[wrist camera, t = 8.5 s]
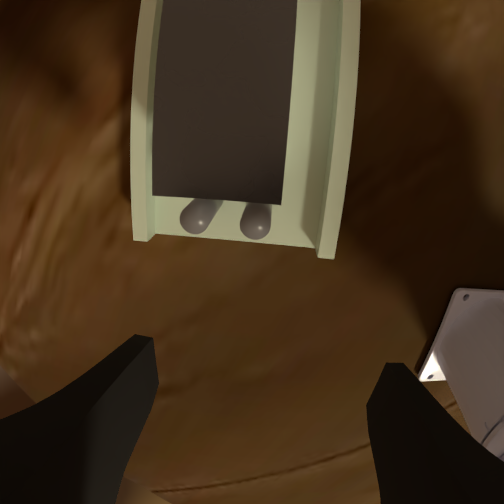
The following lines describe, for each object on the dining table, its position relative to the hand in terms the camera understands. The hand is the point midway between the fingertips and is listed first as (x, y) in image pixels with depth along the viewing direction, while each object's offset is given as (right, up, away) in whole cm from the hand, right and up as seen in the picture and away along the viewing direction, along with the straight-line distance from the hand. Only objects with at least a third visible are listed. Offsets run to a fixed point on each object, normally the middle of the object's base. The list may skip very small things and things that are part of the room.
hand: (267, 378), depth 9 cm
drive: (-1, +12, +4) cm, 13 cm away
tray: (-1, +12, +5) cm, 13 cm away
